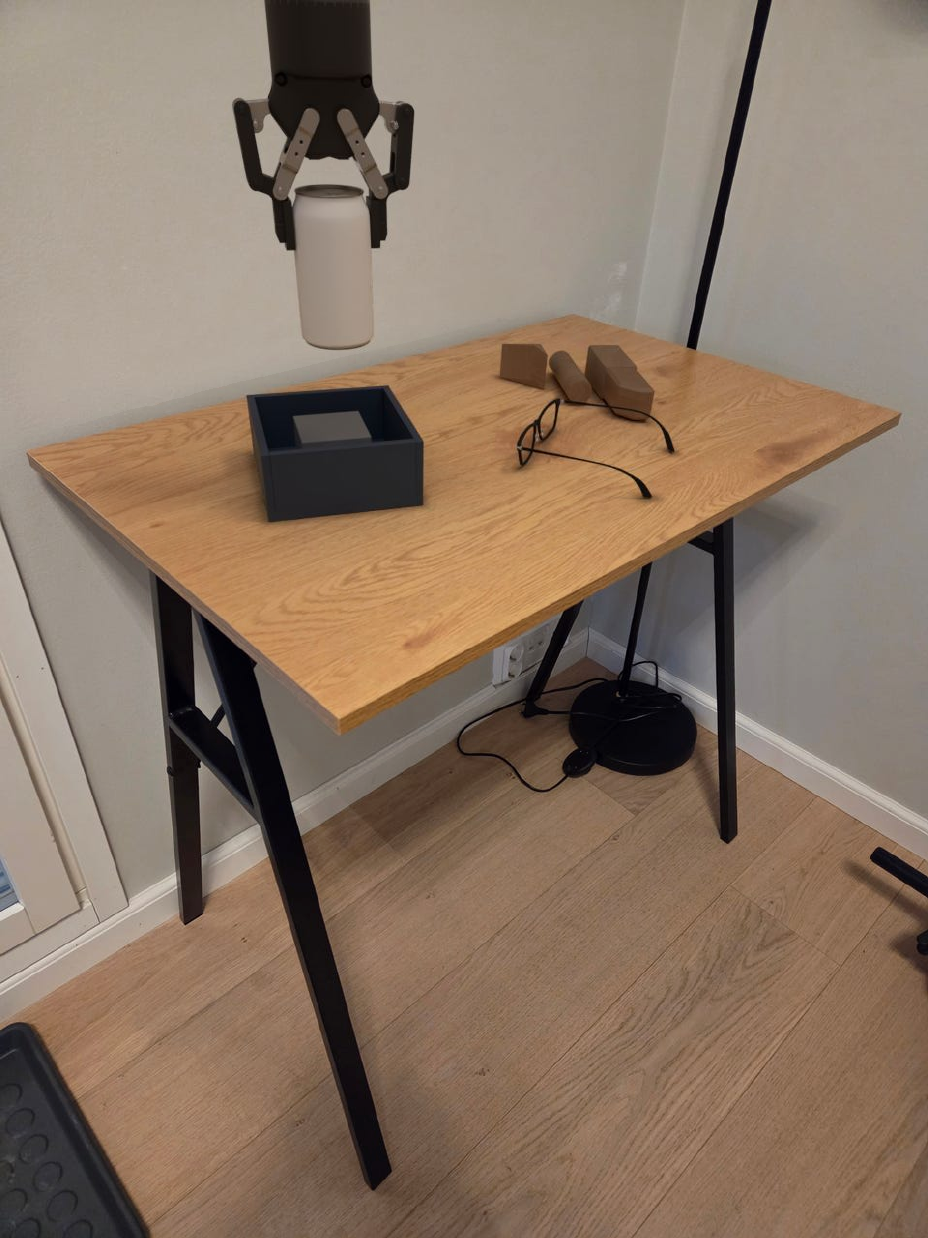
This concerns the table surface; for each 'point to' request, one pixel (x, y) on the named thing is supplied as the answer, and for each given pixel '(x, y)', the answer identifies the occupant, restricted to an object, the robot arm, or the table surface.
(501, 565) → the table surface
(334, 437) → the grey block
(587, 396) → the wooden block set
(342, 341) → the can
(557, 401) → the eyeglasses
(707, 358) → the table surface
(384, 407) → the crate
